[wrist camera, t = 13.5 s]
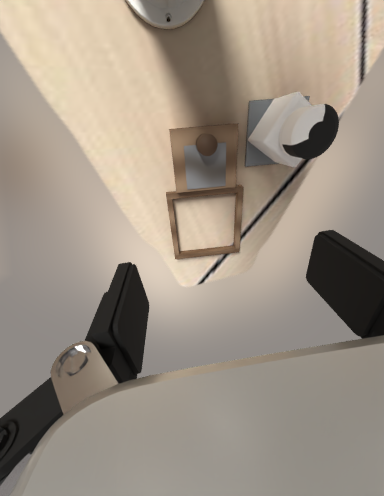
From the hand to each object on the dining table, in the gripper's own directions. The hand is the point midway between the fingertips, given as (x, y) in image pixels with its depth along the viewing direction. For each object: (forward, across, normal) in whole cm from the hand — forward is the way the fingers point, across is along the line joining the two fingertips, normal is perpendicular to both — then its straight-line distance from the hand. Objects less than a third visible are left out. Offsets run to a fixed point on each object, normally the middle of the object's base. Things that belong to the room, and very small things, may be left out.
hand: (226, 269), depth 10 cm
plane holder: (+31, -3, +6) cm, 32 cm away
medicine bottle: (+31, -16, -4) cm, 35 cm away
